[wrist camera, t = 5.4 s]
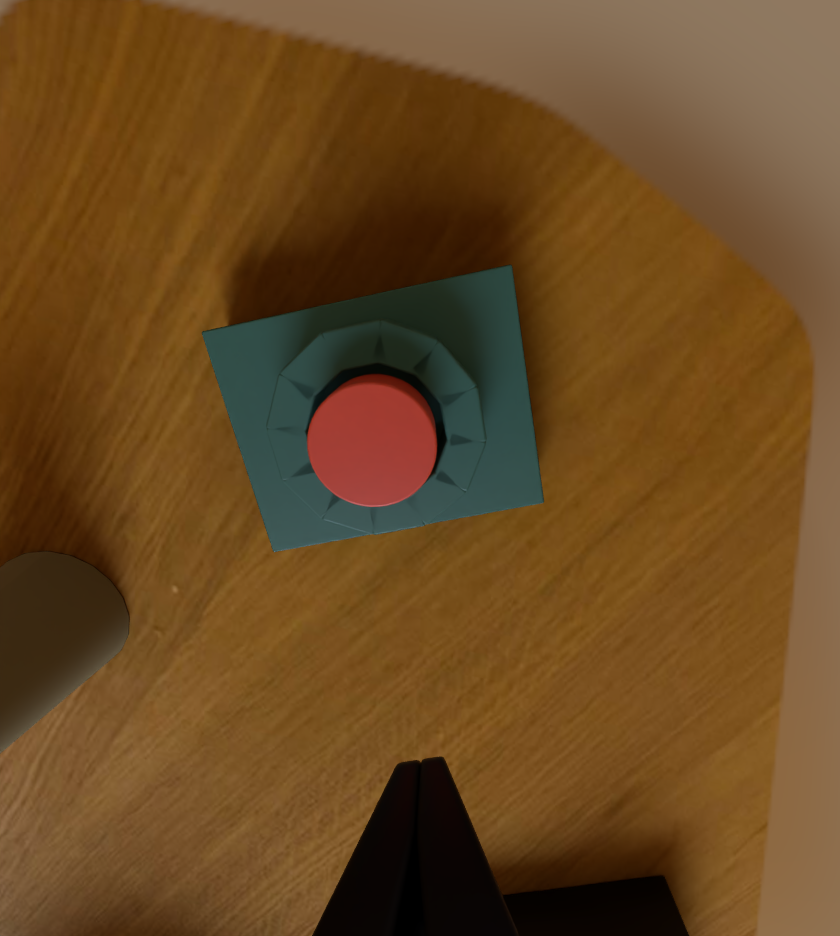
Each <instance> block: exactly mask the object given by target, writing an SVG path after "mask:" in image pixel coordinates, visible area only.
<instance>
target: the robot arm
mask: <svg viewBox="0 0 840 936" xmlns="http://www.w3.org/2000/svg"><path fill="white" fill-rule="evenodd" d="M312 936H519V934H518V931H517V929H516V927H515V924H514V922H513V920H512V917H511V915H510V913H509V910H508V908H507V905H506V903H505V901H504V898H503V896H502V894H501V891H500V889H499V886H498V884H497V882H496V879H495V877H494V875H493V872H492V870H491V868H490V865H489V863H488V860H487V858H486V856H485V853H484V851H483V849H482V846H481V844H480V842H479V839H478V837H477V834H476V832H475V830H474V827H473V825H472V823H471V820H470V818H469V816H468V813H467V811H466V808H465V806H464V804H463V801H462V799H461V797H460V794H459V792H458V789H457V787H456V785H455V782H454V780H453V778H452V775H451V773H450V771H449V768H448V766H447V763H446V761H445V759H444V758H443V757H433V758H427V759H423V760H422V762H420V761H418V760H413V761H407V762H401V763H399V764H397V766H396V767H395V769H394V771H393V773H392V775H391V777H390V779H389V781H388V783H387V785H386V787H385V789H384V791H383V793H382V795H381V797H380V799H379V801H378V803H377V805H376V807H375V809H374V812H373V814H372V816H371V818H370V820H369V822H368V824H367V826H366V828H365V830H364V832H363V834H362V836H361V838H360V840H359V842H358V844H357V846H356V848H355V850H354V852H353V854H352V856H351V858H350V860H349V862H348V864H347V866H346V868H345V870H344V872H343V874H342V876H341V878H340V880H339V882H338V884H337V886H336V889H335V891H334V893H333V895H332V897H331V899H330V901H329V903H328V905H327V907H326V909H325V911H324V913H323V915H322V917H321V919H320V921H319V923H318V925H317V927H316V929H315V931H314V933H313V935H312Z"/></svg>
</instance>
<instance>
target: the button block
mask: <svg viewBox="0 0 840 936" xmlns="http://www.w3.org/2000/svg"><path fill="white" fill-rule="evenodd" d="M202 335H203V338H204V341H205V344H206V347H207V351H208V354H209V357H210V360H211V363H212V366H213V369H214V372H215V375H216V378H217V381H218V384H219V387H220V390H221V393H222V396H223V399H224V402H225V405H226V408H227V412H228V415H229V418H230V421H231V424H232V427H233V430H234V433H235V436H236V439H237V442H238V445H239V448H240V451H241V454H242V457H243V460H244V463H245V466H246V469H247V473H248V476H249V479H250V482H251V485H252V488H253V491H254V494H255V497H256V500H257V503H258V506H259V509H260V512H261V515H262V518H263V521H264V524H265V527H266V530H267V534H268V537H269V540H270V543H271V546H272V549H273V551H274V552H276V551H282V550H287V549H293V548H298V547H304V546H309V545H315V544H320V543H326V542H331V541H337V540H342V539H348V538H353V537H359V536H364V535H370V534H374V535H376V534H382V533H387V532H393V531H398V530H404V529H409V528H415V527H420V526H424V525H425V524H430V523H436V522H441V521H447V520H452V519H457V518H463V517H468V516H474V515H479V514H485V513H490V512H496V511H501V510H507V509H512V508H518V507H523V506H529V505H534V504H540V503H544V498H543V491H542V483H541V476H540V469H539V461H538V454H537V446H536V439H535V432H534V424H533V417H532V410H531V402H530V395H529V387H528V380H527V373H526V365H525V358H524V350H523V343H522V336H521V328H520V321H519V314H518V306H517V299H516V291H515V284H514V277H513V269H512V265H506V266H501V267H497V268H492V269H488V270H483V271H478V272H474V273H469V274H465V275H460V276H455V277H451V278H446V279H441V280H437V281H432V282H428V283H423V284H418V285H414V286H409V287H405V288H400V289H395V290H391V291H386V292H382V293H377V294H372V295H368V296H363V297H359V298H354V299H349V300H345V301H340V302H336V303H331V304H326V305H322V306H317V307H313V308H308V309H303V310H299V311H294V312H290V313H285V314H280V315H276V316H271V317H267V318H262V319H257V320H253V321H248V322H243V323H239V324H234V325H230V326H225V327H220V328H216V329H211V330H207V331H203V332H202ZM366 374H385V375H390V376H394V377H397V378H399V379H402V380H404V381H405V382H407V383H409V384H410V385H412V386H413V387H414V388H415V389H417V390H418V391H419V392H420V393H421V394H422V396H423V397H424V398H425V400H426V401H427V403H428V405H429V406H430V408H431V411H432V413H433V416H434V420H435V426H436V436H437V454H436V460H435V464H434V467H433V469H432V471H431V474H430V475H429V477H428V479H427V480H426V482H425V483H424V484H423V485H422V487H421V488H420V489H418V490H417V491H416V492H415V493H414V494H412V495H411V496H410V497H408V498H406V499H404V500H403V501H400V502H398V503H395V504H392V505H388V506H381V507H367V506H360V505H356V504H353V503H350V502H348V501H345V500H343V499H342V498H340V497H338V496H337V495H335V494H334V493H332V492H331V491H330V490H329V489H328V488H327V487H326V486H325V485H324V484H323V483H322V482H321V481H320V479H319V478H318V476H317V475H316V473H315V471H314V469H313V467H312V465H311V462H310V459H309V455H308V449H307V435H308V430H309V425H310V422H311V420H312V417H313V415H314V413H315V411H316V410H317V409H318V407H319V406H320V404H321V403H322V402H323V401H324V400H325V399H326V398H327V397H328V396H329V395H330V394H331V393H332V392H333V391H334V390H336V389H337V388H338V387H339V386H340V385H342V384H343V383H345V382H346V381H348V380H350V379H352V378H355V377H358V376H361V375H366Z"/></svg>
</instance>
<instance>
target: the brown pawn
mask: <svg viewBox="0 0 840 936" xmlns="http://www.w3.org/2000/svg"><path fill="white" fill-rule="evenodd" d="M128 633H129V615H128V612H127V609H126V606H125V603H124V600H123V598H122V596H121V595H120V593H119V592H118V591H117V589H116V588H115V586H114V585H113V584H112V582H111V581H110V580H109V579H108V578H107V577H105V576H104V575H103V574H102V573H100V572H99V571H98V570H97V569H96V568H94V567H93V566H92V565H89V564H87V563H85V562H83V561H81V560H79V559H77V558H74V557H72V556H70V555H64V554H59V553H54V552H49V551H45V552H34V553H25V554H23V555H21V556H18V557H16V558H14V559H12V560H9V561H7V562H6V563H5V564H4V565H2V566H1V567H0V753H1V752H2V751H4V750H5V749H6V748H7V747H8V746H10V745H11V744H12V743H13V742H14V741H15V740H17V739H18V738H19V737H20V736H21V735H22V734H24V733H25V732H26V731H27V730H28V729H30V728H31V727H32V726H33V725H34V724H35V723H37V722H38V721H39V720H40V719H41V718H43V717H44V716H45V715H46V714H47V713H48V712H50V711H51V710H52V709H53V708H54V707H55V706H57V705H58V704H59V703H60V702H61V701H63V700H64V699H65V698H66V697H67V696H68V695H70V694H71V693H72V692H73V691H74V690H75V689H77V688H78V687H79V686H80V685H81V684H83V683H84V682H85V681H86V680H87V679H88V678H90V677H91V676H92V675H93V674H94V673H95V672H97V671H98V670H99V669H100V668H101V667H103V666H104V665H105V664H106V663H107V662H108V661H110V660H111V659H112V658H113V657H114V656H115V655H116V654H117V653H118V652H120V651H121V649H122V647H123V645H124V643H125V641H126V639H127V637H128Z"/></svg>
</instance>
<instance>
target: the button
mask: <svg viewBox="0 0 840 936" xmlns="http://www.w3.org/2000/svg"><path fill="white" fill-rule="evenodd" d="M307 449H308V455H309V459H310V462H311V465H312V467H313V469H314V471H315V473H316V475H317V476H318V478H319V479H320V481H321V482H322V483H323V484H324V485H325V486H326V487H327V488H328V489H329V490H330V491H331V492H332V493H334V494H335V495H337V496H338V497H340V498H342V499H343V500H345V501H348V502H350V503H353V504H356V505H360V506H367V507H381V506H388V505H392V504H395V503H398V502H400V501H403V500H404V499H406V498H408V497H410V496H411V495H412V494H414V493H415V492H416V491H417V490H418V489H420V488H421V487H422V485H423V484H424V483H425V482H426V480H427V479H428V477H429V475H430V474H431V471H432V469H433V467H434V464H435V460H436V454H437V436H436V426H435V420H434V416H433V413H432V411H431V408H430V406H429V405H428V403H427V401H426V400H425V398H424V397H423V396H422V394H421V393H420V392H419V391H418V390H417V389H415V388H414V387H413V386H412V385H410V384H409V383H407V382H405V381H404V380H402V379H399V378H397V377H394V376H390V375H385V374H366V375H361V376H358V377H355V378H352V379H350V380H348V381H346V382H345V383H343V384H342V385H340V386H339V387H338V388H337V389H336V390H334V391H333V392H332V393H331V394H330V395H329V396H328V397H327V398H326V399H325V400H324V401H323V402H322V403H321V404H320V406H319V407H318V409H317V410H316V411H315V413H314V415H313V417H312V420H311V422H310V425H309V430H308V435H307Z"/></svg>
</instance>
